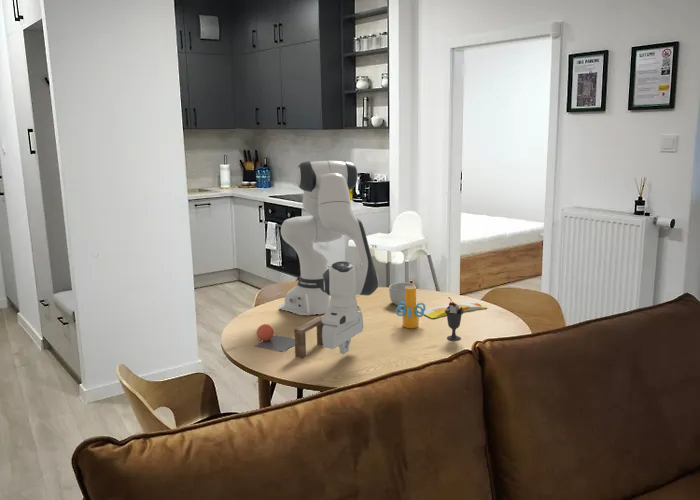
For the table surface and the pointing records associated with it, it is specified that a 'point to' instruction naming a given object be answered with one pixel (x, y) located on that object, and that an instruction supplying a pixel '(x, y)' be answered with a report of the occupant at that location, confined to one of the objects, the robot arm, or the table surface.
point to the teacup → (398, 292)
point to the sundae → (453, 319)
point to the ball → (265, 332)
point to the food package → (440, 310)
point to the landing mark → (277, 343)
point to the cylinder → (410, 308)
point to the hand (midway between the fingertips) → (344, 352)
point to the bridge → (301, 337)
